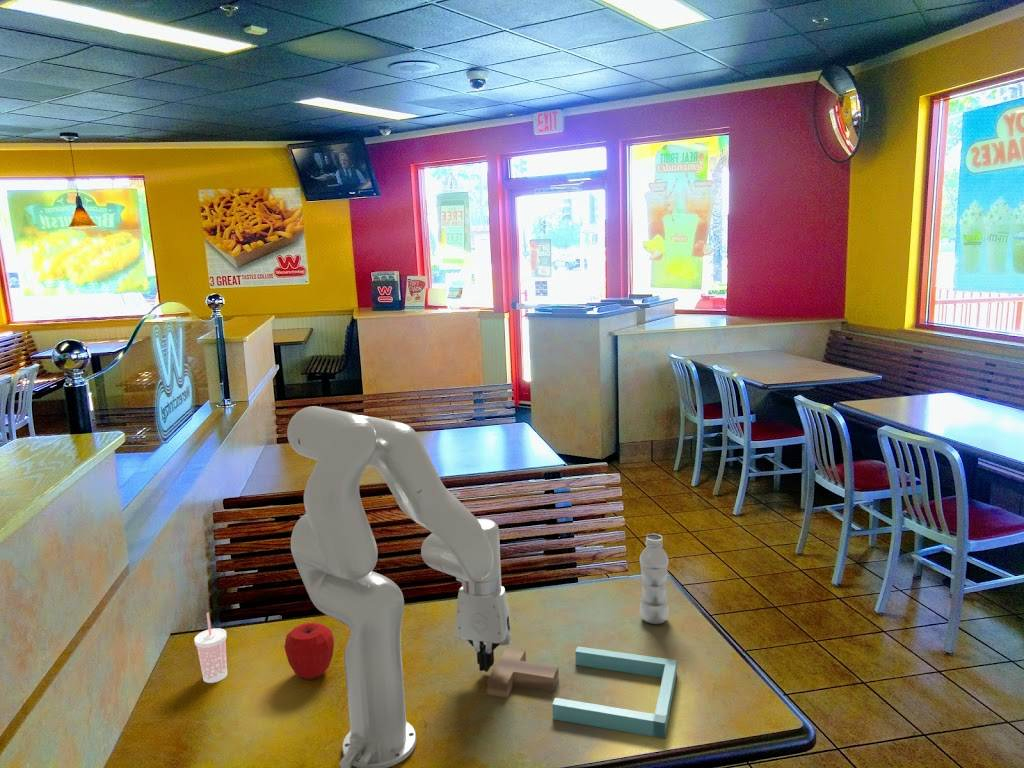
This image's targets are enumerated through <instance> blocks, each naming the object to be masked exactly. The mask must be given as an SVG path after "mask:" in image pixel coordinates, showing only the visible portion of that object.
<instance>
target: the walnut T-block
mask: <svg viewBox="0 0 1024 768" xmlns="http://www.w3.org/2000/svg"><path fill="white" fill-rule="evenodd" d="M526 657H527V656H526V649H523V648H522V649H521V648H514V647H513V648H512V647H506V649H505V650H504V652H503V653H502V655H501V657H500V658H499V660H498V661H497V663H496V664H495V666H494V667H493V669H492V671H491V673H490V674H489V676H488V678H487V680H486V682H487V683H486V685H487V695H490V696H496V697H503V698H508V697H509V696H510V693H511V691H513V688H514V687H521V688H526V689H527V688H528V689H534V690H538V691H540V690H541V691H547V692H551V693H554V692H555V690H556V688H557V685H558V683H559V680H560V677H559V676H560V675H559V666H558V665H551V664H544V663H538V662H532V661H531V662H530V661H526V660H527V658H526Z"/></svg>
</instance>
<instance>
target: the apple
mask: <svg viewBox="0 0 1024 768" xmlns="http://www.w3.org/2000/svg"><path fill="white" fill-rule="evenodd" d="M334 647H335V637H334V635H333V631H332V630H331V629H330V627H328V626H326V625H325V624H323V623H319V622H305V623H302V624H299V625H296V626H295V627H294V628H293V629H291V631H289V632H288V633H287V634H286V637H285V641H284V647H283V648H284V651H285V656H286V659H287V662H288V664H289V666H290V667H291V669H292V670H293V672H294V674H295V675H297V676H298V677H300V678H302V679H304V680H308V681H310V680H314V678H315V679H317V678H318V677H320V676H321V675H322V674H324V673H325V672H326V671H327V670H328V669H329V667H330V664H331V662H332V659H333V656H334Z"/></svg>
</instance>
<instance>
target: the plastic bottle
mask: <svg viewBox="0 0 1024 768" xmlns="http://www.w3.org/2000/svg"><path fill="white" fill-rule="evenodd" d="M663 540H664V539H663V535H660V534H657V533H650V534H646V537H645V546H646V547H645V548H644V549H643V550H642V551H641V553H640V555H639V566H640V572H641V573H640V574H641V581H642V582H641V584H642V586H641V598H640V603H639V614H640V617H641V618H642V620H643V621H644V622H646V623H648V624H652V625H659V624H663V623H665V622H666V621H667V619H668V618H669V612H670V611H669V610H670V609H669V604H668V597H667V596H668V595H667V575H668V569H669V556H668V554H667V552H666V550H665V549H664V548H663V545H664V543H663Z"/></svg>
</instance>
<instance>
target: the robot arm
mask: <svg viewBox="0 0 1024 768" xmlns="http://www.w3.org/2000/svg"><path fill="white" fill-rule="evenodd" d="M287 425H288V426H287V431H286V436H287V440H288V443H289V445H290V447H291V448H292V449H293V450H294V452H296V453H297V454H298V455H300V456H302V457H305V458H308V459H312V460H314V461H317V462H316V463H315V464H314V465H315V466H314V468H313V469H312V471H311V473H310V476H309V478H308V479H307V482H306V485H305V488H304V491H303V506H304V509H305V513H304V514H303V515H302V516H301V517H300V518H299V519H298V520H297V522H296V523H295V525H294V527H293V529H292V532H291V535H290V536H291V537H290V551H291V555H292V558H293V561H294V563H295V566H296V568H297V570H298V573H299V575H300V578H301V580H302V582H303V585H304V587H305V589H306V592H307V594H308V596H309V599H310V600H311V603H312V604H313V605H314V606H315V608H316V609H317V610H318V611H319V612H321V613H322V614H323V615H326V616H328V617H329V618H332V619H334V620H335V621H337V622H339V623H341V624H343V625H344V626H346V627H347V628H348V629H349V638H348V639H347V640H348V641H347V642H346V645H345V648H344V655H343V657H344V658H343V660H344V670H345V681H346V693H347V705H348V706H347V707H348V717H349V732H348V733H347V734H346V735H345V737H344V739H343V741H342V744H341V745H342V746H341V747H342V754H343V757H342V758H341V760H339V763H338V764H339V767H340V768H352V766H353V767H355V768H390V767H393V766H396V765H397V764H400V763H401V762H403V761H404V760H406V759H407V758H408V757H410V755H411V754H412V753H413V752H414V750H415V748H416V745H417V733H416V729H415V728H414V727H413V725H412V724H410V723H409V722H408V721H407V716H406V715H407V714H406V712H407V711H406V700H405V685H404V670H403V659H402V658H403V656H402V642H401V641H402V623H403V616H404V611H405V600H404V599H405V598H404V594H403V592H402V590H401V589H400V587H399V586H398V585H397V583H395V582H394V581H393V580H391V578H389V577H387V576H384V575H383V574H380V573H377V571H373V570H374V569H375V568H376V565H377V562H378V555H379V553H378V546H377V542H376V539H375V536H374V533H373V531H372V530H373V529H372V528H371V524H370V522H369V519H368V517H367V514H366V511H365V508H364V506H363V503H362V498H361V495H360V484H361V480H362V477H363V475H364V473H365V470H366V469H367V466H368V467H371V468H372V467H373V468H374V469H376V470H377V471H379V472H380V474H381V476H382V478H383V480H384V482H385V483H386V485H387V487H388V488H389V491H390V492H391V493H392V495H393V497H394V499H395V501H396V503H397V504H398V507H399V509H400V510H401V511H402V512H403V513H404V514H405V515H406V516H407V517H408V518H409V519H411V520H412V521H413V522H414V523H416V524H417V525H420V527H422V528H425V530H428V531H429V532H431V533H430V534H429V535H428V536H427V537H426V538H425V539H424V540H423V542H422V545H421V549H420V551H421V552H420V554H421V558H422V560H423V562H424V563H425V564H426V565H427V566H428V567H430V568H431V569H433V570H436V571H439V572H441V573H444V574H447V575H449V576H452V577H455V580H456V581H457V582H460V583H461V587H460V588H459V590H458V595H457V602H456V617H455V618H456V621H455V624H456V626H455V630H456V634H457V636H458V638H459V639H462V640H464V641H468V643H469V644H470V645H471V646H472V647H473V649H474V651H475V652H476V661H477V662H476V663H477V664H478V667H479V671H481V672H483V671H484V672H486V673H487V672H489V671H490V668H491V667H493V665H494V663H495V656H494V655H495V654H494V653H495V651H494V650H496V649H497V648H498V647H499V646H508V645H510V643H511V641H512V637H511V634H510V631H511V615H510V607H509V601H508V595H507V593H506V589H505V587H504V586H502V568H501V546H500V529H499V528H500V527H499V525H498V523H496V522H495V521H493V520H492V519H488V518H476V517H475V515H474V514H473V513H472V512H471V511H470V510H469V509H468V508H467V507H466V506H465V505H464V504H463V503H462V502H461V501H460V500H459V499H458V498H457V497H456V496H455V495H454V494H453V493H452V492H451V491H450V490H449V489H448V488H446V486H445V485H444V482H443V481H442V480H441V478H440V476H439V473H438V472H437V470H436V468H435V466H434V464H433V461H432V459H431V458H430V456H429V454H428V452H427V450H426V448H425V445H424V444H423V442H422V440H421V439H420V437H419V434H418V433H417V432H416V431H415V429H414V428H413V427H411V426H410V425H408V424H406V423H404V422H403V423H402V422H401V421H396V420H390V419H383V418H379V417H373V416H368V415H361V414H356V413H353V412H349V411H343V410H338V409H332V408H328V407H322V406H317V405H314V406H313V405H312V406H307V407H304V408H301V409H300V410H298V411H297V412H296V413H294V415H292V417H291V419H290V420H289V423H288V424H287Z"/></svg>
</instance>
